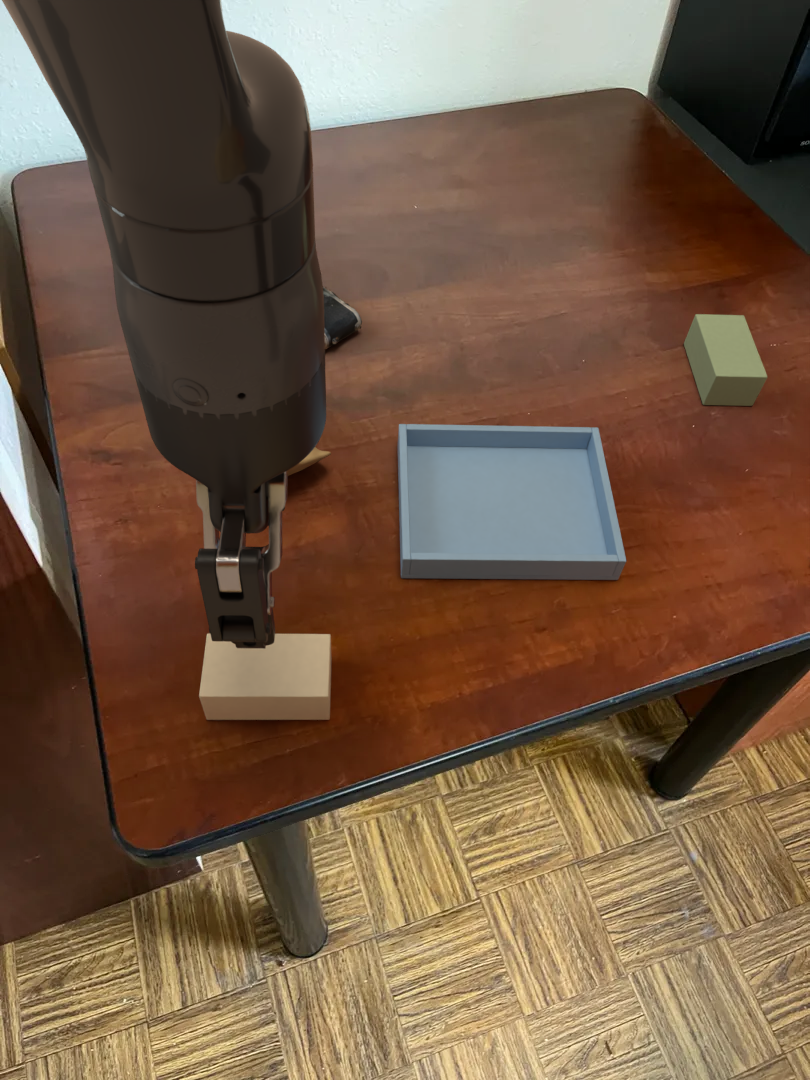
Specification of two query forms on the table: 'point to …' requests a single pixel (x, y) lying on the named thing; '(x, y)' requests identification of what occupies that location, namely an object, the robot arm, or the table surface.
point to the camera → (338, 319)
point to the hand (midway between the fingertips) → (260, 569)
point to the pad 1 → (268, 679)
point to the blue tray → (506, 503)
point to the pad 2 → (724, 360)
